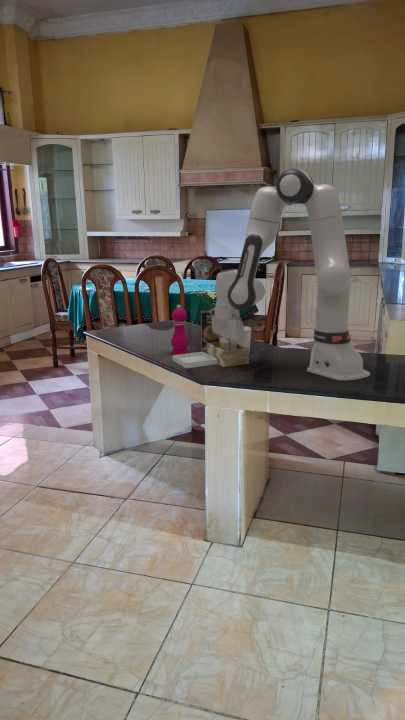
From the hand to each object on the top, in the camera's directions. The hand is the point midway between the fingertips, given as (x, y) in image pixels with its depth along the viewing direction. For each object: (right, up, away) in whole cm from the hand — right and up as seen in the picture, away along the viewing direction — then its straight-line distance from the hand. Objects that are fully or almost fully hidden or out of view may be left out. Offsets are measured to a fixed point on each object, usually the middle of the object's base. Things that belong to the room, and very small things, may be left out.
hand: (228, 348), depth 205 cm
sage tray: (-13, -5, 0) cm, 14 cm away
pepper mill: (-19, -2, +14) cm, 24 cm away
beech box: (0, -5, +1) cm, 5 cm away
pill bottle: (0, -5, +1) cm, 5 cm away
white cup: (+6, -1, +15) cm, 16 cm away
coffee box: (-6, 0, +21) cm, 22 cm away
